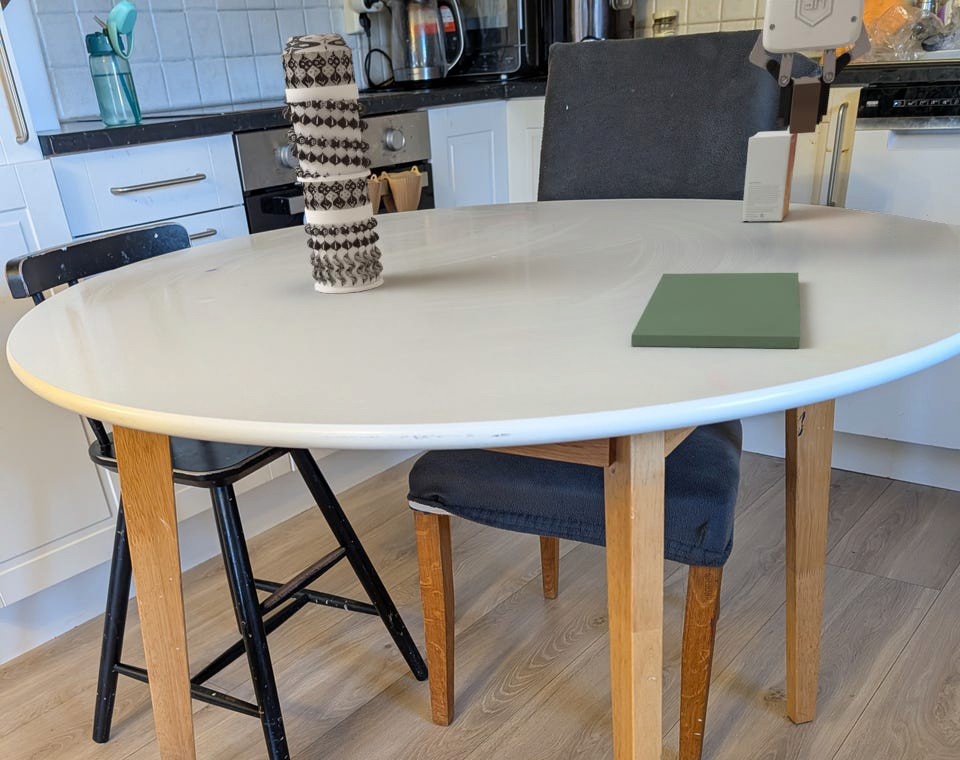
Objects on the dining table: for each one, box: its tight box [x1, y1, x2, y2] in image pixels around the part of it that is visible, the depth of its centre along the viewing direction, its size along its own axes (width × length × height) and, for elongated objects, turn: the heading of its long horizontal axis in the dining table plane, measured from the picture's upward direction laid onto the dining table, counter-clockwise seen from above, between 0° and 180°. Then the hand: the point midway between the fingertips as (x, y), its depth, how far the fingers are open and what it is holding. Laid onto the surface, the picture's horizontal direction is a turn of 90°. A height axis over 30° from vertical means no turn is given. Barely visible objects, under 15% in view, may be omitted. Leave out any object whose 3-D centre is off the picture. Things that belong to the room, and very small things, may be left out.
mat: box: [630, 272, 801, 349], centre depth 84 cm, size 24×14×1 cm, turn 164°
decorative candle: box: [279, 33, 385, 294], centre depth 99 cm, size 9×9×25 cm
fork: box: [779, 74, 824, 134], centre depth 99 cm, size 21×5×4 cm, turn 164°
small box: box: [741, 130, 799, 222], centre depth 122 cm, size 8×6×10 cm
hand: (801, 123), depth 101 cm, fingers closed on fork, 2 cm apart
